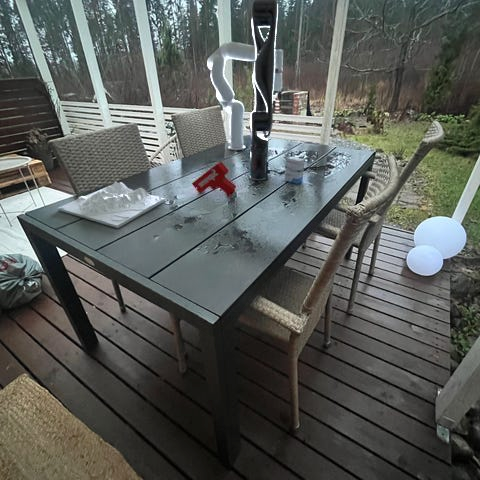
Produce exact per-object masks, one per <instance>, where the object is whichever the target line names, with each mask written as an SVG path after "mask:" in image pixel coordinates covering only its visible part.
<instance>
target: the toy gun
mask: <svg viewBox="0 0 480 480" xmlns="http://www.w3.org/2000/svg"><path fill="white" fill-rule="evenodd" d="M228 173H229V169H228V168H227V166H226V165H225V164H224V163H223V162H222V161H219V162H217V163H216V164H214V166H212V167H211V168H210V169H209V170H207V171H206V172H204V173H203V174H202V175H201V176H199V177H198V178H197V179H196V180H194V181H193V182H192V183H191V184H192V186H193V187H194V189H195V190H196V191H197V193H199V194H201V193H203V192H204V191H205V190H207V189H208V188H210V189H211V190H213V191H215V190H216V189H218V188H219V189H220V190H222V191H223V192H224V193H225V194H226V196H227V197H229V196H230V195H233V194H235V192H236V188H237V186H236V184H235V183H233V182H232V181H230V180H229V179H228V178H227V177H226V175H227V174H228Z"/></svg>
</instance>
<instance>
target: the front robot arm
mask: <svg viewBox="0 0 480 480" xmlns="http://www.w3.org/2000/svg"><path fill="white" fill-rule="evenodd" d="M250 11H251V12H250V15H251V16H250V17H251V29H252V37H253V43H254V44H253V45H254V46H255V61H254V64H253V65H254V66H253V73H252V75H251V78H252V85H253V89H254V96H255V97H254V110H252V112H251V113H250V119H249V121H250V122H249V124H250V125H248V128H249V133H250V155H249V157H250V158H249V160H250V161H249V165H250V166H249V167H250V168H249V178H250V180H253V181H256V182H257V181H265V180H268V179H269V175H270V174H271V172H273V173H276V174H278V175H281V174H285V170H283V171H278V170H275V169H271V168H270V167H269V142H270V141H269V139H268V137H270V135H271V132H272V129H273V123H274V105H273V104H274V91H273V84H274V68H275V50H276V40H277V39H276V38H277V37H276V36H277V28H278V27H277V26H278V16H279V15H278V14H279V4H278V0H252V2H251V8H250ZM260 28H269V29H268V33H267V36H266V38H264V37H263V35H262V32H261V30H260ZM258 132H259V133H260V132H262V135H264V138H263V137H261V136H259V133H258ZM267 132H268V133H267ZM329 164H330V165H329ZM329 164H325V165H326V166H325V165H320V166H319V165H318V166H319V167H317V166H307V167H306V166H305V167H306V168H304V170H309V169H320V168H326V167H331V166H332V164H331V163H329Z"/></svg>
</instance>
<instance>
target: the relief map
mask: <svg viewBox="0 0 480 480" xmlns="http://www.w3.org/2000/svg"><path fill="white" fill-rule="evenodd" d="M164 202H166V198H165V197H162V196H157V195H153V194H150V193H149V192H148V191H147V190H145V189H144V188H143V187H138V188H136V189H132V188H129V187H128V186H126V184H125V183H123V182H122V181H119V182H118V181H117V180H115V181H114V182H113V183H112V184H111V185H107V186H106V187H103V188H101V189H99V190H97V191H93V192H92V193H89V194H87V195H80V196H79V197H78V198H76V199H75V200H73V201H70V202H68V203H65V204H64V205H61V206H59V207H57V209H58V211H60V212H63V213H67V214H70V215H73V216H76V217H79V218H83V219H86V220H89V221H94V222H96V223H100V224H102V225H106V226H109V227H112V228H116V229H119V228H121V227H123V226H124V225H126V224H128V223H130V222H131V221H134V220H135V219H137V218H139V217H141V216H142V215H143V214H145V213H147V212H149V211H151V210H152V209H154V208H156V207H158V206H159V205H161V204H163V203H164Z"/></svg>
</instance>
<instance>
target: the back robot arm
mask: <svg viewBox="0 0 480 480" xmlns="http://www.w3.org/2000/svg"><path fill="white" fill-rule="evenodd" d="M228 59H231V60H239V61H246V62H255V45H254V44H247V43H242V42H235V41H227V42H224V43H222V44H221V45H220V46H219V47H218V48H217V49H216V50H215V51H214V52H213V53H212V54H210V56H209V57H208V58H207V61H206V63H207V64H206V65H207V68H208V69H209V70H210V79H211V82H212V85H213V86H214V88H215V90H216V93H215V95H216V99H217V100H218V101H219V103H220V105H221V106H222V108H223V109H224V110H225V112H226V113H227V114H229V115H230V116H229V117H230V118H229V140H228V141H227V144H228V150H231V151H242V150H245V149H246V146H245V145H244V115H245V106H244V104H243V102H241V101H239V100H235V92H234V90H233V88H232V87H231V85H230V83H229V82H228V80H227V79H226V76H225V68H226V67H225V66H226V62H227V60H228ZM283 61H284V50H283V49H275V68H274V84H273V92H275V91H277V94H276V95H277V96H276V99H277V100H282V95H283V90H284V84H283V65H284V64H283V63H284V62H283Z"/></svg>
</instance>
